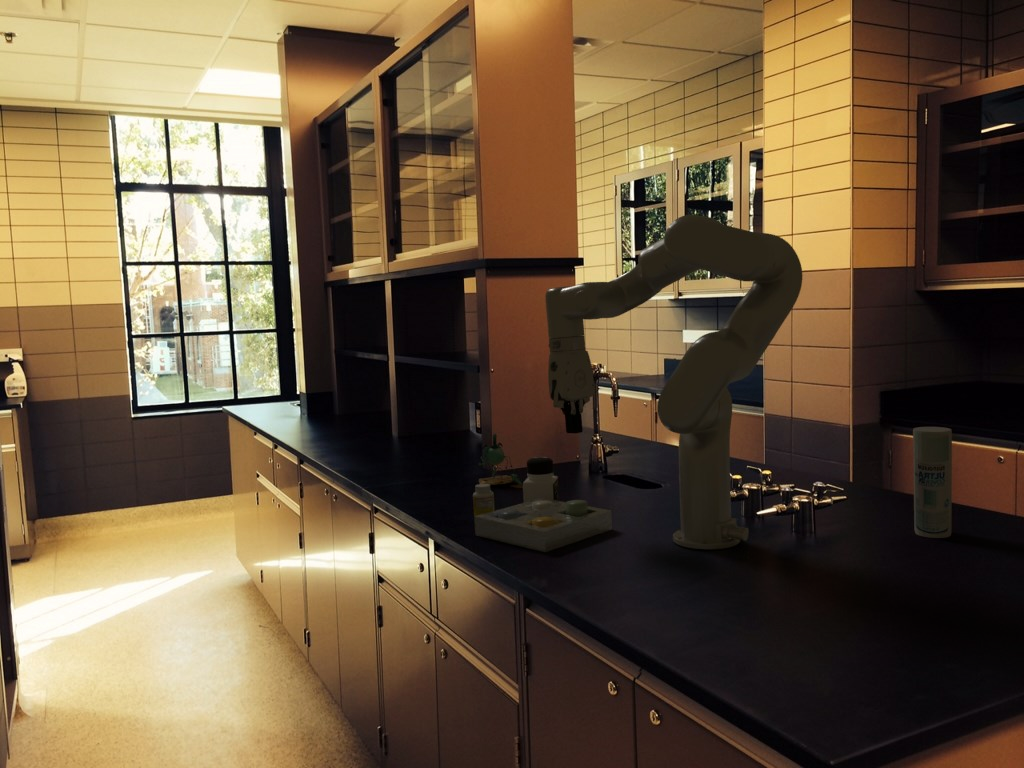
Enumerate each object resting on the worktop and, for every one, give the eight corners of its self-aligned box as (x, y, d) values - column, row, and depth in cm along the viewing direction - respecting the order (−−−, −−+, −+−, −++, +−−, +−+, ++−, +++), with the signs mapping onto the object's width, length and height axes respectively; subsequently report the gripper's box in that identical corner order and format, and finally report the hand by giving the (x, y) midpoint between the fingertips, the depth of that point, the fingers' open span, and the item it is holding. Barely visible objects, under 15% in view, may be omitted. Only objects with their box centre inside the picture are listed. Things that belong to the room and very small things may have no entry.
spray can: (953, 530, 157) (952, 427, 156) (951, 539, 152) (951, 432, 150) (915, 527, 161) (914, 426, 159) (912, 536, 155) (911, 431, 153)
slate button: (524, 530, 171) (523, 511, 170) (509, 535, 168) (508, 516, 167) (509, 527, 174) (508, 508, 174) (494, 531, 171) (493, 512, 170)
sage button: (592, 520, 170) (591, 501, 170) (578, 525, 167) (577, 505, 167) (576, 517, 173) (575, 498, 173) (562, 522, 170) (561, 503, 170)
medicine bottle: (555, 513, 186) (552, 460, 185) (523, 513, 188) (521, 461, 187) (559, 505, 193) (557, 455, 192) (529, 505, 195) (527, 455, 194)
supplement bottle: (480, 519, 184) (478, 482, 183) (498, 520, 182) (496, 483, 181) (470, 524, 180) (468, 486, 179) (489, 526, 178) (487, 487, 177)
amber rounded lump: (559, 538, 163) (558, 518, 163) (544, 543, 160) (543, 523, 160) (543, 535, 167) (542, 515, 166) (528, 539, 164) (527, 520, 163)
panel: (612, 529, 170) (611, 510, 170) (545, 552, 157) (544, 531, 156) (542, 515, 185) (541, 497, 184) (475, 535, 171) (474, 516, 171)
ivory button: (557, 520, 178) (556, 502, 177) (543, 524, 175) (542, 506, 174) (542, 517, 181) (541, 499, 180) (528, 521, 178) (527, 503, 177)
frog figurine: (499, 493, 210) (492, 435, 210) (468, 489, 226) (461, 436, 226) (531, 487, 215) (525, 430, 215) (498, 484, 231) (492, 431, 231)
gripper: (557, 347, 165) (565, 438, 166) (603, 342, 176) (610, 428, 177) (530, 349, 170) (537, 437, 171) (576, 344, 181) (582, 427, 182)
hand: (574, 432), depth 174 cm, fingers closed
